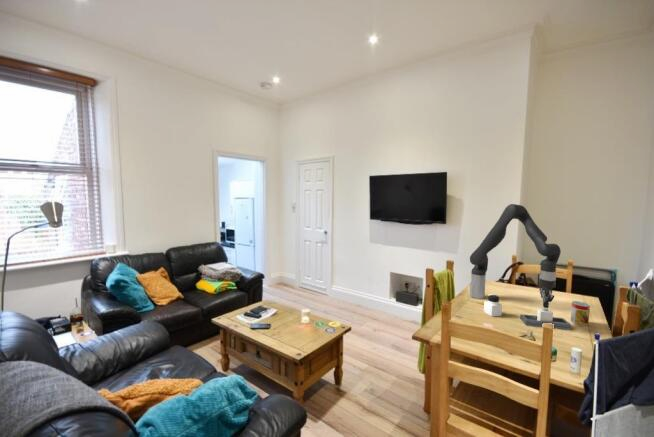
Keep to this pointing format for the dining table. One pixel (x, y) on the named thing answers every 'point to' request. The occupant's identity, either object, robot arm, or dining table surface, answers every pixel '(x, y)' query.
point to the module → (544, 315)
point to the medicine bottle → (493, 306)
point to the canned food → (580, 313)
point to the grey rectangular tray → (558, 322)
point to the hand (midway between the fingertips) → (545, 307)
